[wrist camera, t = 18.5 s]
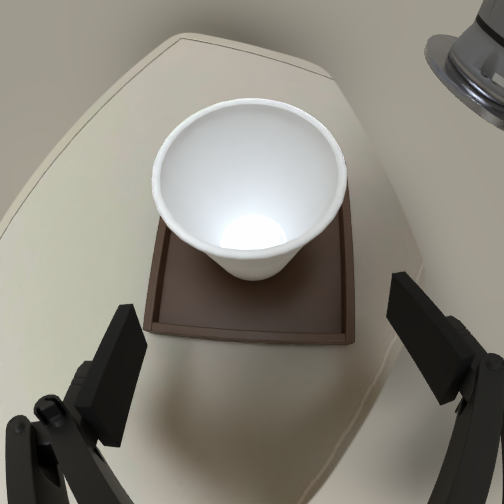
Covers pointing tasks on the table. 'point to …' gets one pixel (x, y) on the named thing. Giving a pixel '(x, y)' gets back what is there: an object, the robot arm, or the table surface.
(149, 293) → the square brown tray
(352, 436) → the table surface
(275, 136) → the cup
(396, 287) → the robot arm
